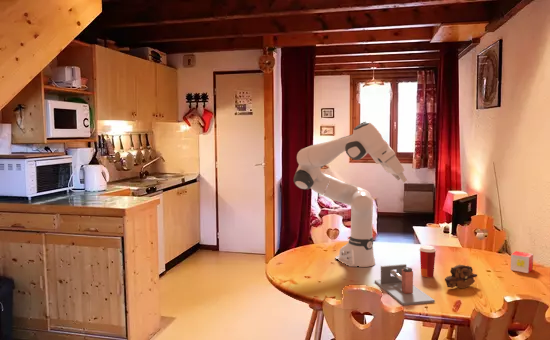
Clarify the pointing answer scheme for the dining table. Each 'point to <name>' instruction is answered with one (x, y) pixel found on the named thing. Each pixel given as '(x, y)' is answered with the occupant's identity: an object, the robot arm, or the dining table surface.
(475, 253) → the dining table surface
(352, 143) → the robot arm
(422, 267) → the paper cup
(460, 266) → the wooden carving
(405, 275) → the pink l-shaped bar
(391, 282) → the gray stand
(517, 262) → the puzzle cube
